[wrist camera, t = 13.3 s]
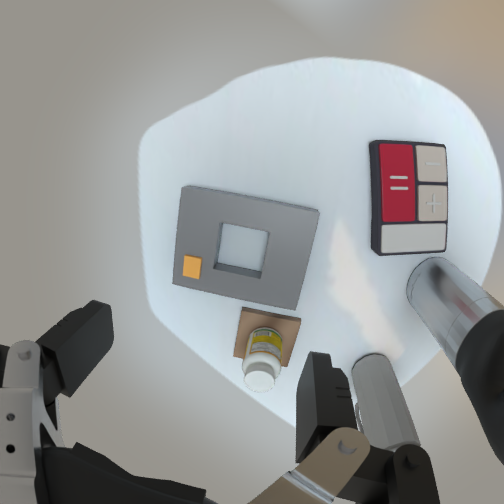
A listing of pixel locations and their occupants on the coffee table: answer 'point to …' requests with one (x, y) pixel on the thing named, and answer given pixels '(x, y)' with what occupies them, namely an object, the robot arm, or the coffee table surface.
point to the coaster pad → (260, 319)
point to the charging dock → (251, 216)
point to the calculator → (408, 197)
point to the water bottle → (382, 405)
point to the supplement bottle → (262, 359)
